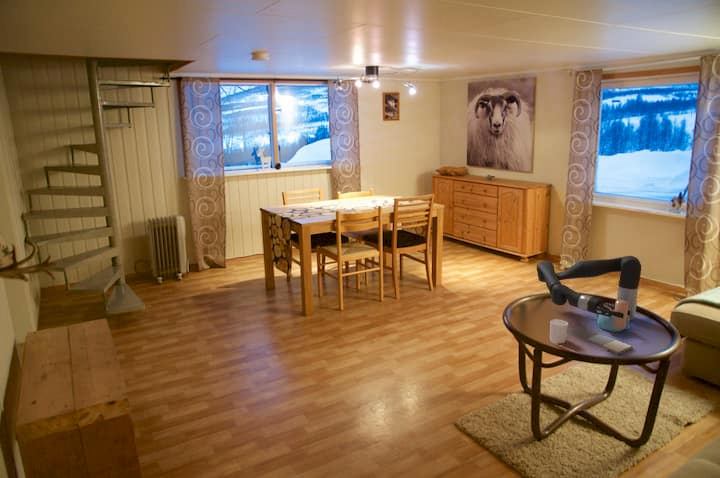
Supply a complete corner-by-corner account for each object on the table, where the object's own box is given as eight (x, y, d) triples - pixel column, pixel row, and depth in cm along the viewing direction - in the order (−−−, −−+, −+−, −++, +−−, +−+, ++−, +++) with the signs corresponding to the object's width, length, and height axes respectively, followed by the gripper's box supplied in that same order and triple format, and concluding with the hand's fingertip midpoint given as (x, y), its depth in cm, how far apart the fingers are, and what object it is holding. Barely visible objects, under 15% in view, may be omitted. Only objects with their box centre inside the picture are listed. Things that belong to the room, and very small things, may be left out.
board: (579, 328, 253) (579, 325, 253) (632, 349, 230) (633, 345, 230) (563, 333, 247) (563, 330, 247) (617, 355, 224) (617, 351, 224)
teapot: (622, 340, 240) (625, 317, 237) (587, 330, 251) (589, 308, 248) (635, 328, 254) (637, 306, 251) (600, 319, 265) (603, 298, 262)
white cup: (566, 340, 240) (568, 320, 237) (565, 346, 233) (567, 326, 230) (549, 337, 243) (551, 318, 241) (547, 343, 236) (549, 324, 234)
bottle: (617, 323, 231) (620, 299, 229) (628, 327, 227) (631, 302, 224) (610, 325, 229) (613, 301, 226) (621, 329, 224) (624, 304, 222)
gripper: (598, 308, 243) (633, 318, 229) (581, 314, 234) (617, 326, 221) (599, 293, 241) (635, 303, 228) (583, 299, 233) (619, 310, 219)
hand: (626, 314), depth 224 cm, fingers closed on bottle, 5 cm apart
